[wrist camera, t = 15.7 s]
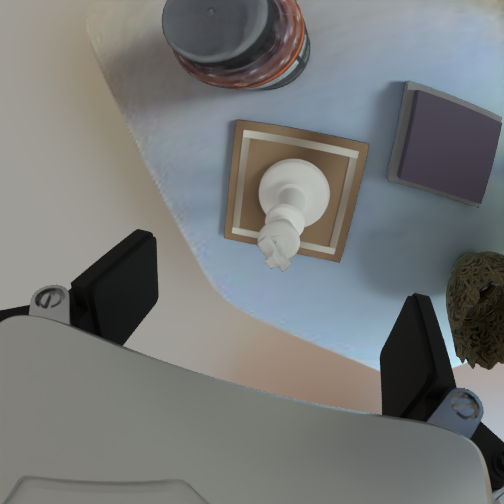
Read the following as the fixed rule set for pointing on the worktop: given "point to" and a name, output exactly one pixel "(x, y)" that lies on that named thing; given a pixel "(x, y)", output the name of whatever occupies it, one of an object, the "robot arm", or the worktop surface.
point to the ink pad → (443, 145)
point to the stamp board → (294, 147)
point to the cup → (477, 308)
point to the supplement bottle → (238, 41)
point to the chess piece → (289, 207)
